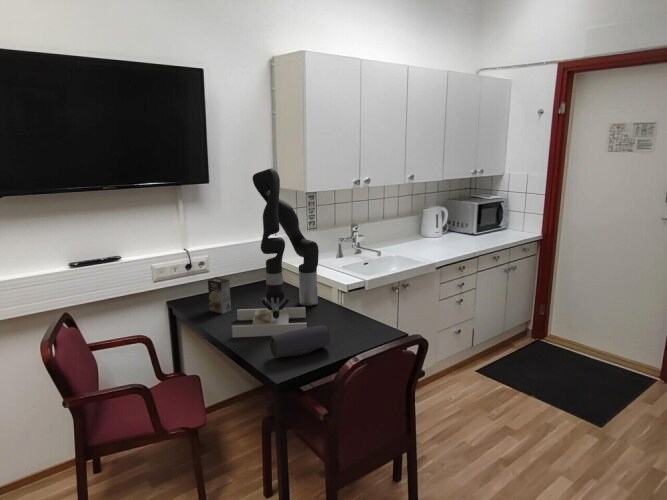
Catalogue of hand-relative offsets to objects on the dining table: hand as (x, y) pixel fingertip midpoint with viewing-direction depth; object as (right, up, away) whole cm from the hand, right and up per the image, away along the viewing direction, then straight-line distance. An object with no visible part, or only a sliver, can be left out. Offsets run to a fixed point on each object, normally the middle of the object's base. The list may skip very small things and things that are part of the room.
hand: (276, 318), depth 211 cm
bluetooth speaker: (+13, -11, -25) cm, 30 cm away
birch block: (-6, -1, 0) cm, 6 cm away
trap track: (-2, -4, +1) cm, 5 cm away
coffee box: (-30, +1, +21) cm, 37 cm away
